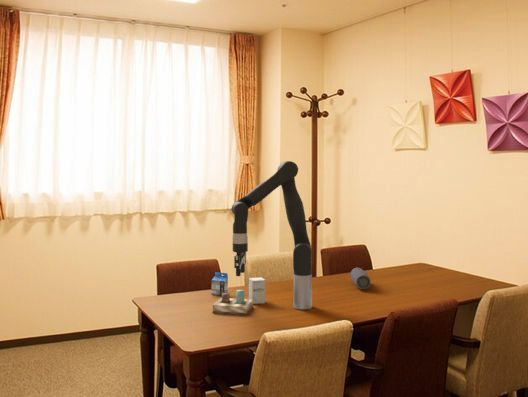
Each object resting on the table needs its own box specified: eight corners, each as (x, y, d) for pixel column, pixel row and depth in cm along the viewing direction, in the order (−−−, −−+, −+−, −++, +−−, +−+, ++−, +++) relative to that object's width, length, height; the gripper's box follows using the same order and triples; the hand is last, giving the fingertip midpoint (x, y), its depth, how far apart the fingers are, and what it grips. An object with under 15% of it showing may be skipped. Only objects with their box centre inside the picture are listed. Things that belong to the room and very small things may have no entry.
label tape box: (211, 294, 288) (211, 273, 287) (215, 293, 291) (215, 271, 291) (224, 296, 284) (224, 274, 283) (228, 294, 287) (228, 273, 287)
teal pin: (245, 307, 258) (245, 289, 257) (243, 309, 254) (243, 291, 253) (237, 307, 259) (237, 289, 258) (235, 309, 255) (235, 291, 254)
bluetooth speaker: (371, 291, 295) (371, 274, 295) (355, 291, 296) (355, 274, 295) (364, 282, 318) (364, 266, 318) (349, 282, 318) (349, 266, 318)
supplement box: (251, 304, 267) (251, 280, 267) (248, 300, 274) (248, 277, 274) (265, 303, 269) (265, 279, 268) (261, 299, 276) (261, 276, 276)
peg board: (252, 307, 262) (252, 291, 262) (246, 315, 248) (246, 298, 248) (220, 305, 266) (220, 290, 265) (212, 312, 252) (212, 296, 251)
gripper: (244, 244, 246) (244, 277, 247) (250, 240, 260) (251, 271, 261) (228, 244, 248) (229, 277, 249) (236, 239, 262) (236, 271, 263)
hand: (240, 274), depth 255 cm, fingers open, 8 cm apart
